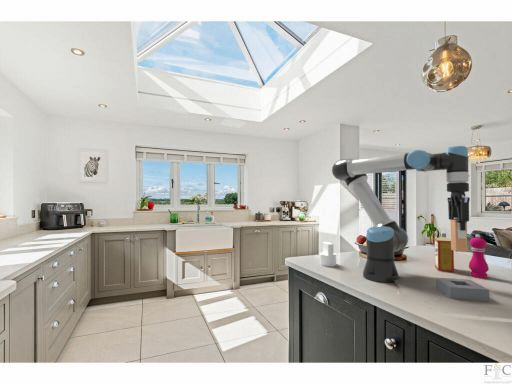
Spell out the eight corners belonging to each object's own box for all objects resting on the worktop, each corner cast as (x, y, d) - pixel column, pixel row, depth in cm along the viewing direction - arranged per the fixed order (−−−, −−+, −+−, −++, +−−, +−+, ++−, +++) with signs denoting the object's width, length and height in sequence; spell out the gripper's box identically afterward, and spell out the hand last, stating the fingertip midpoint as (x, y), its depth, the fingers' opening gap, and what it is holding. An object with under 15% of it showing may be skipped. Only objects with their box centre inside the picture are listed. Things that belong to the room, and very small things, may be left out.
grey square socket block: (450, 301, 95) (450, 287, 95) (435, 290, 107) (435, 277, 107) (489, 304, 92) (489, 289, 92) (470, 292, 104) (470, 279, 104)
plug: (455, 251, 110) (455, 218, 111) (451, 249, 114) (450, 217, 115) (467, 252, 109) (466, 218, 110) (462, 250, 114) (461, 217, 114)
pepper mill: (492, 279, 121) (491, 235, 122) (474, 278, 123) (473, 235, 123) (482, 274, 128) (481, 233, 129) (465, 274, 130) (464, 233, 130)
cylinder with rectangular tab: (317, 262, 153) (317, 241, 154) (332, 262, 154) (332, 241, 154) (323, 266, 144) (323, 244, 145) (339, 266, 145) (338, 244, 146)
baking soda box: (454, 272, 133) (453, 240, 133) (438, 270, 136) (437, 239, 136) (449, 267, 141) (448, 238, 142) (435, 266, 144) (434, 237, 145)
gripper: (479, 181, 104) (481, 240, 103) (457, 183, 120) (458, 235, 120) (457, 181, 105) (459, 240, 105) (438, 183, 122) (439, 234, 121)
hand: (458, 237), depth 112 cm, fingers closed on plug, 4 cm apart
